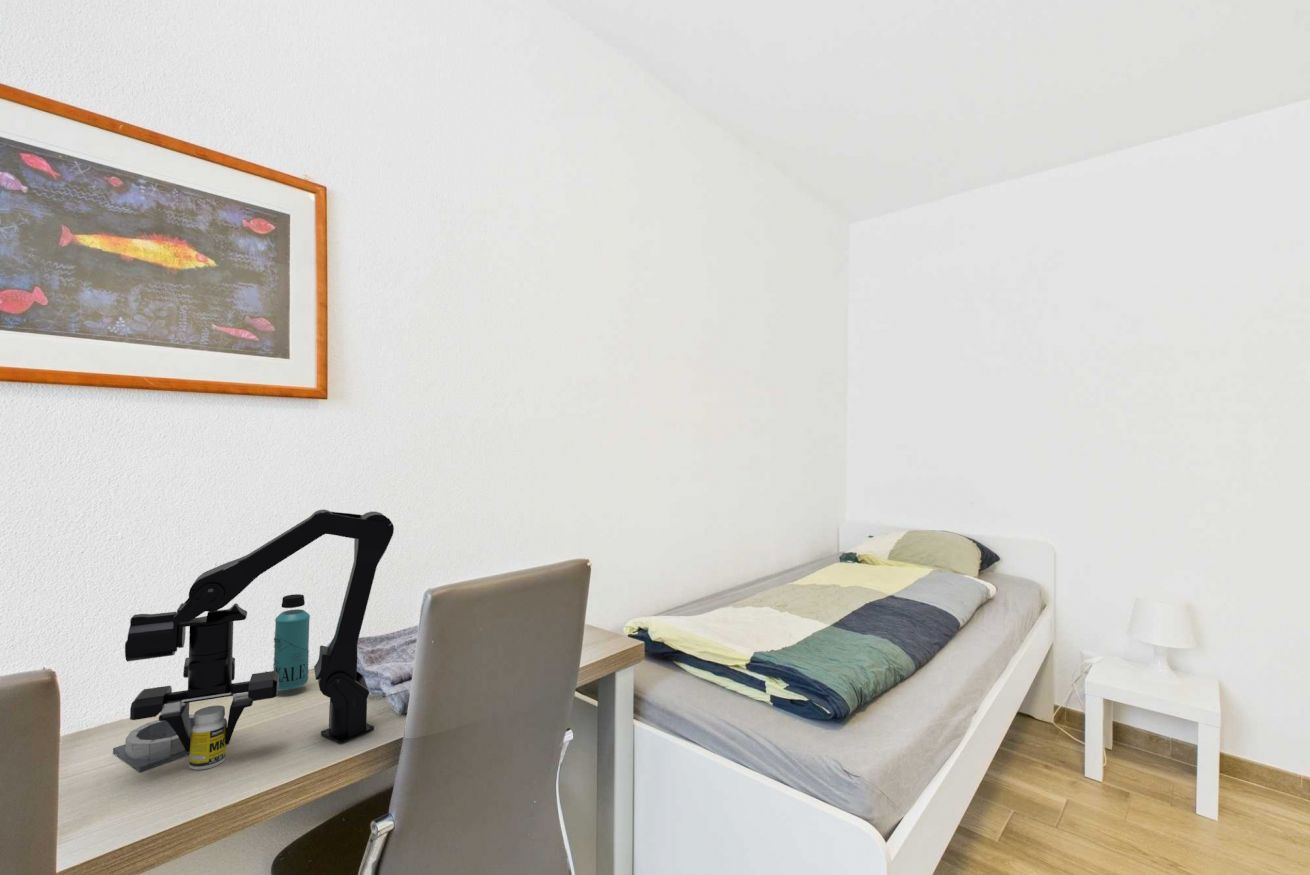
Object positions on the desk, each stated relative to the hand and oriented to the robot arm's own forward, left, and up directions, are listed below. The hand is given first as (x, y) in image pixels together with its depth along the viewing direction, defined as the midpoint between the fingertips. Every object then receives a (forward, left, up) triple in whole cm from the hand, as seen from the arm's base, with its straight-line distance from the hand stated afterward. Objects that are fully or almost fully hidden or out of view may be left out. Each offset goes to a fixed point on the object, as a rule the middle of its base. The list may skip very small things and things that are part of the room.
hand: (208, 747), depth 96 cm
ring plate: (+11, +2, -2) cm, 11 cm away
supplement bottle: (0, 0, -3) cm, 3 cm away
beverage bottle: (+18, -22, -3) cm, 29 cm away
